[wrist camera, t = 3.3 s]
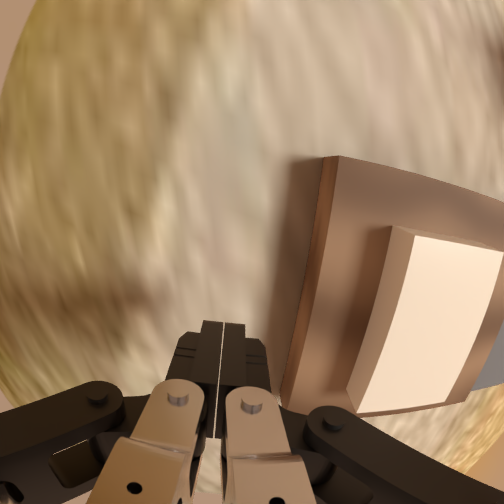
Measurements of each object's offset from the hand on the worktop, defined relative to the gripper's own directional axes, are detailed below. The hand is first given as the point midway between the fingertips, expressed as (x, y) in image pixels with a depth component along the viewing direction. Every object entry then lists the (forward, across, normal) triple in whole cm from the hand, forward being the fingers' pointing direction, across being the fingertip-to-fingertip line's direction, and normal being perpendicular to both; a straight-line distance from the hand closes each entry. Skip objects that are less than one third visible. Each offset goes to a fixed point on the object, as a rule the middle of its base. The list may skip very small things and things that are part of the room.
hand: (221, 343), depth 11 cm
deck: (+5, -11, 0) cm, 12 cm away
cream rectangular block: (+3, -10, 0) cm, 10 cm away
